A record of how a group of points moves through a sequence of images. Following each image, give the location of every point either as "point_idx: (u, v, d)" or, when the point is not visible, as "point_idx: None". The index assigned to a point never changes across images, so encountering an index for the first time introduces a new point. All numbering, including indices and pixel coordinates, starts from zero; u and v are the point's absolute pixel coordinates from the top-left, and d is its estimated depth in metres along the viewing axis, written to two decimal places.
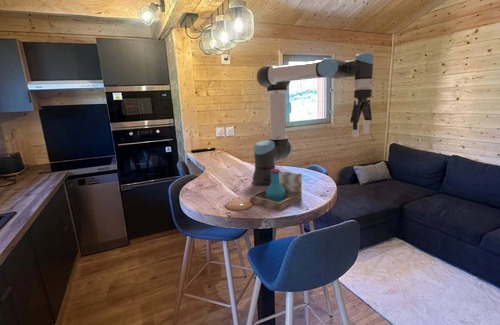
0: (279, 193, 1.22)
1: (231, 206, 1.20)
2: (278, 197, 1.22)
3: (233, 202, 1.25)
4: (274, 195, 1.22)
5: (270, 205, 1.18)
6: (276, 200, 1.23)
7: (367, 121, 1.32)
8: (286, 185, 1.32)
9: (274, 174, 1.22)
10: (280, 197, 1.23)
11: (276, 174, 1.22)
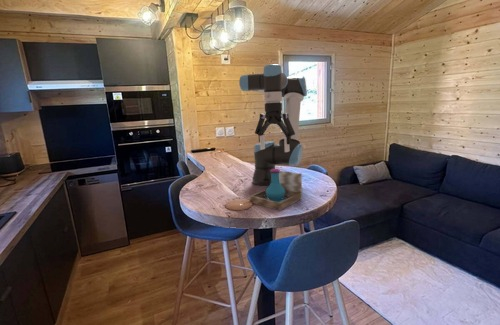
0: (279, 193, 1.22)
1: (231, 206, 1.20)
2: (278, 197, 1.22)
3: (233, 202, 1.25)
4: (274, 195, 1.22)
5: (270, 205, 1.18)
6: (276, 200, 1.23)
7: None
8: (286, 185, 1.32)
9: (274, 174, 1.22)
10: (280, 197, 1.23)
11: (276, 174, 1.22)
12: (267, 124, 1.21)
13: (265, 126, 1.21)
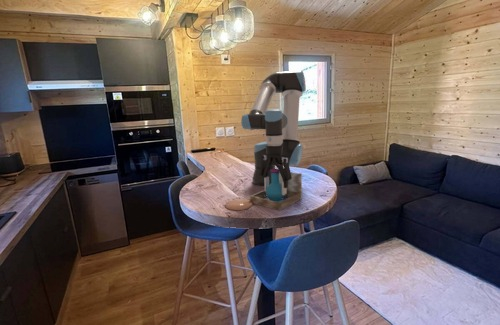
0: (279, 193, 1.22)
1: (231, 206, 1.20)
2: (278, 197, 1.22)
3: (233, 202, 1.25)
4: (274, 195, 1.22)
5: (270, 205, 1.18)
6: (276, 200, 1.23)
7: None
8: None
9: (274, 174, 1.22)
10: (280, 197, 1.23)
11: (276, 174, 1.22)
12: (270, 165, 1.25)
13: (268, 167, 1.25)
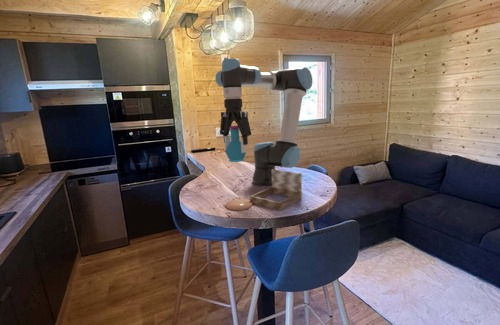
0: (238, 151, 1.13)
1: (231, 206, 1.20)
2: (237, 155, 1.14)
3: (233, 202, 1.25)
4: (233, 153, 1.13)
5: (270, 205, 1.18)
6: (236, 159, 1.15)
7: None
8: (286, 185, 1.32)
9: (233, 130, 1.14)
10: (240, 155, 1.14)
11: (235, 130, 1.14)
12: (229, 122, 1.16)
13: (228, 124, 1.16)
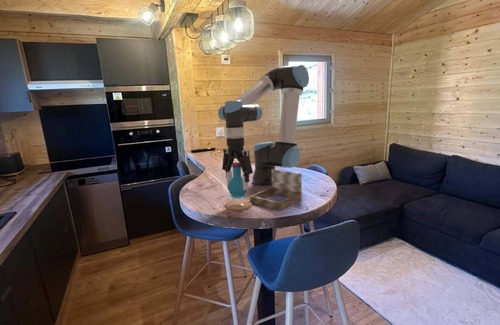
0: (240, 188, 1.17)
1: (231, 206, 1.20)
2: (239, 191, 1.17)
3: (233, 202, 1.25)
4: (235, 190, 1.16)
5: (270, 205, 1.18)
6: (237, 195, 1.18)
7: None
8: (286, 185, 1.32)
9: (235, 168, 1.17)
10: (241, 192, 1.18)
11: (237, 168, 1.17)
12: (231, 159, 1.20)
13: (230, 161, 1.20)
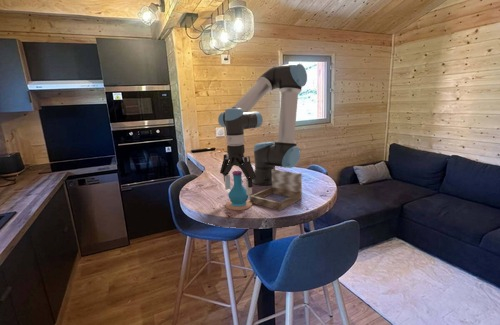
0: (241, 196, 1.18)
1: (231, 206, 1.20)
2: (240, 200, 1.18)
3: None
4: (236, 198, 1.17)
5: (270, 205, 1.18)
6: (238, 203, 1.19)
7: None
8: (286, 185, 1.32)
9: (236, 176, 1.18)
10: (242, 200, 1.19)
11: (238, 176, 1.18)
12: (231, 165, 1.21)
13: (229, 167, 1.21)
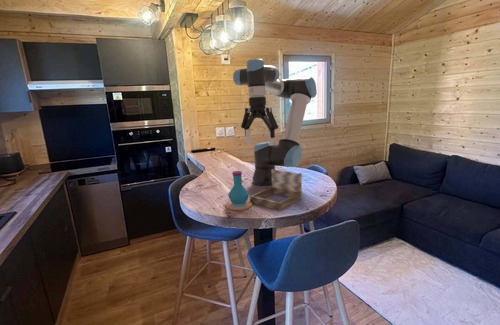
0: (241, 196, 1.18)
1: (231, 206, 1.20)
2: (240, 200, 1.18)
3: None
4: (236, 198, 1.17)
5: (270, 205, 1.18)
6: (238, 203, 1.19)
7: None
8: (286, 185, 1.32)
9: (236, 176, 1.18)
10: (242, 200, 1.19)
11: (238, 176, 1.18)
12: (252, 118, 1.23)
13: (250, 120, 1.23)
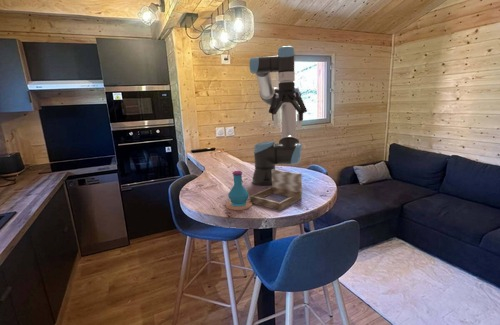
0: (241, 196, 1.18)
1: (231, 206, 1.20)
2: (240, 200, 1.18)
3: None
4: (236, 198, 1.17)
5: (270, 205, 1.18)
6: (238, 203, 1.19)
7: None
8: (286, 185, 1.32)
9: (236, 176, 1.18)
10: (242, 200, 1.19)
11: (238, 176, 1.18)
12: (280, 103, 1.30)
13: (278, 105, 1.30)
